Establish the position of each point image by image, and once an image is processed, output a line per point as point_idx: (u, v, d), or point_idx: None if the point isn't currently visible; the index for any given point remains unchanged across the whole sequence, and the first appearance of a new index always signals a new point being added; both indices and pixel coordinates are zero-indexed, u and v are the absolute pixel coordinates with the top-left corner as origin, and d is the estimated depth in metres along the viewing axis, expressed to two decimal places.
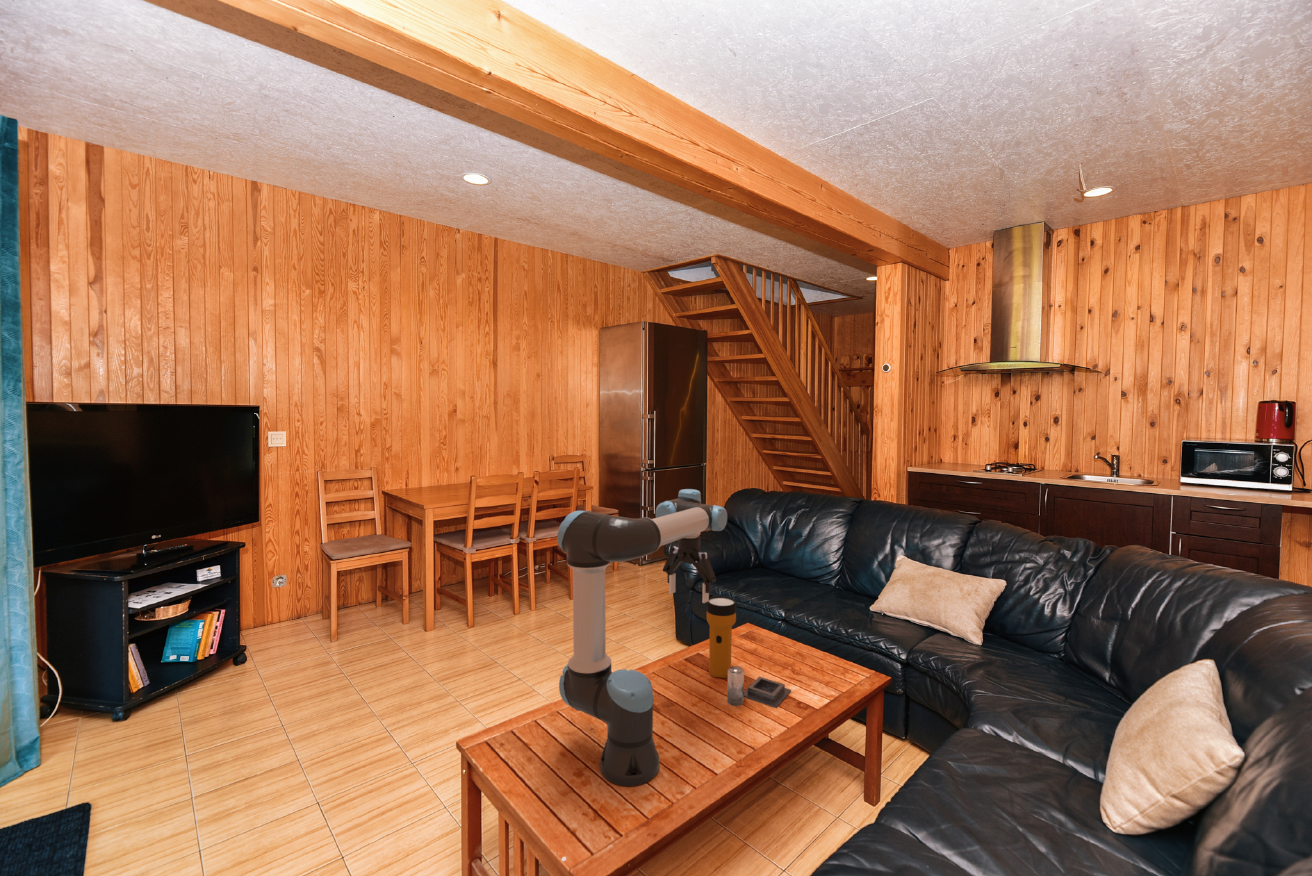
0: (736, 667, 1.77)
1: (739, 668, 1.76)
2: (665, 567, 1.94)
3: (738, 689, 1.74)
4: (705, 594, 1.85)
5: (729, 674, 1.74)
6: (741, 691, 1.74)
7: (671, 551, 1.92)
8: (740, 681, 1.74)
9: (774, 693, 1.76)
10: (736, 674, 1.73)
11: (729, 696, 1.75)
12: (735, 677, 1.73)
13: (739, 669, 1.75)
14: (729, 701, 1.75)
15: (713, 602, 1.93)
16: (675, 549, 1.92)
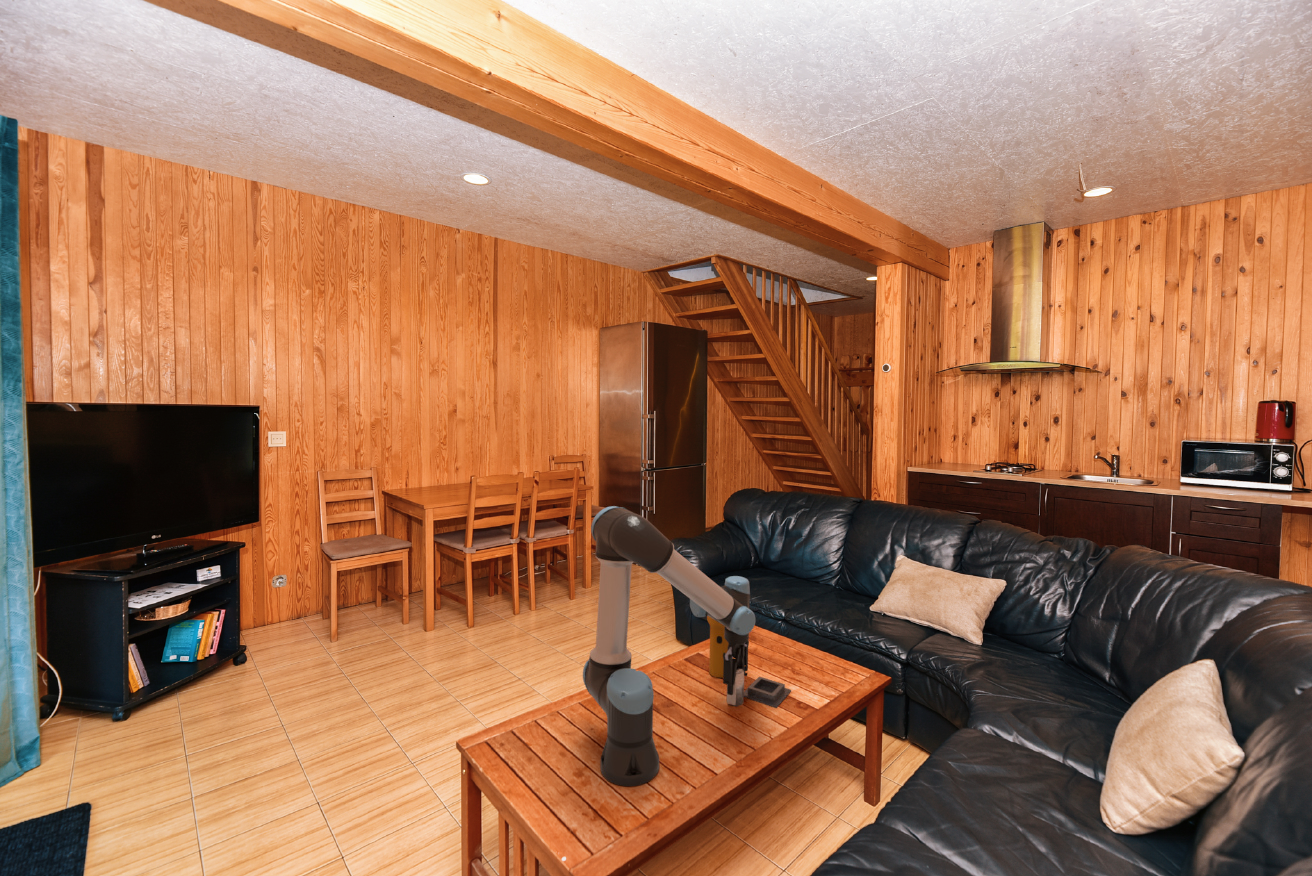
0: None
1: (739, 668, 1.76)
2: None
3: (738, 689, 1.74)
4: (728, 694, 1.74)
5: None
6: (741, 691, 1.74)
7: None
8: (740, 681, 1.74)
9: (774, 693, 1.76)
10: (736, 674, 1.73)
11: None
12: (735, 677, 1.73)
13: (739, 669, 1.75)
14: None
15: None
16: None
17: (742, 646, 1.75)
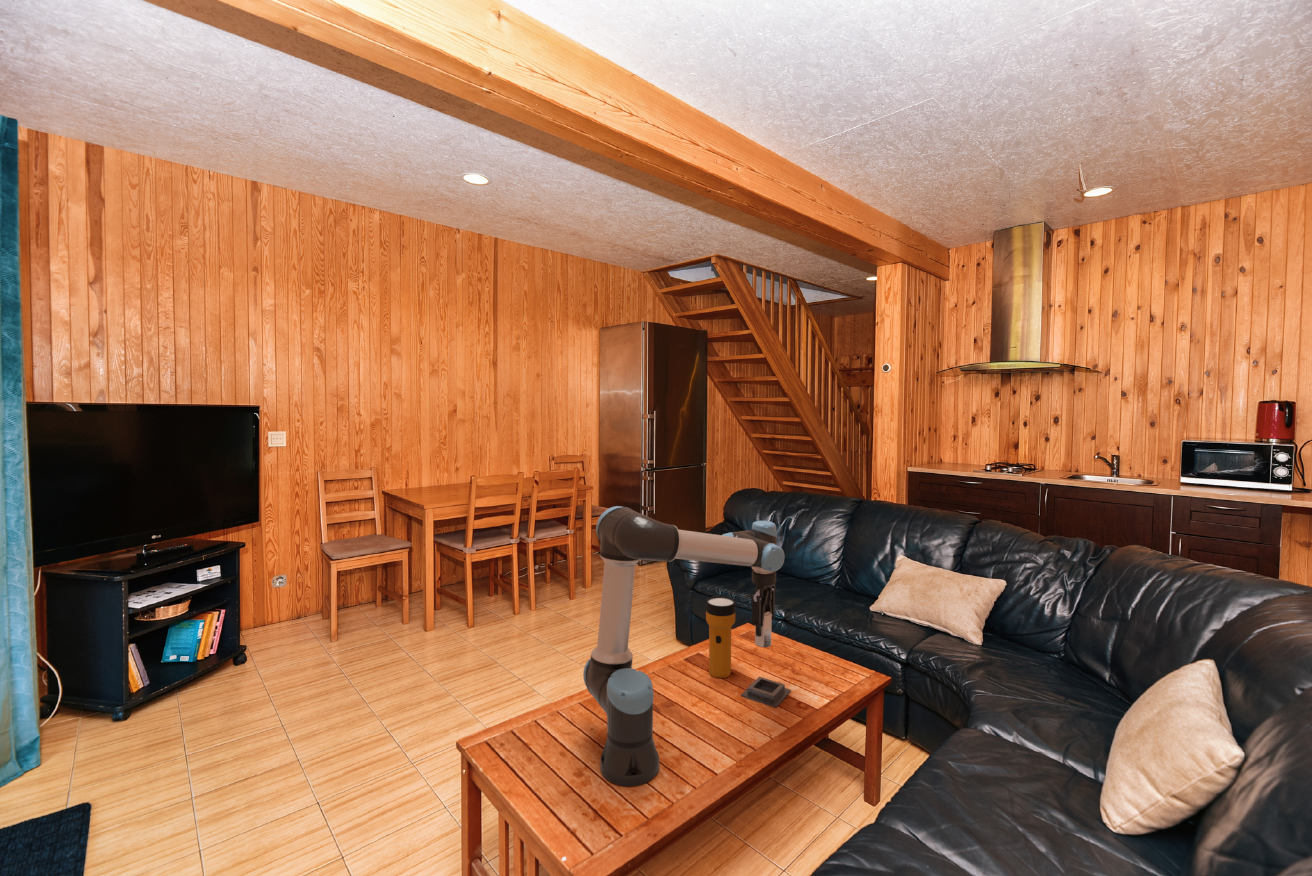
0: None
1: (767, 611, 1.79)
2: None
3: (766, 631, 1.76)
4: (757, 636, 1.77)
5: None
6: (769, 633, 1.77)
7: None
8: (768, 623, 1.77)
9: (774, 693, 1.76)
10: (764, 616, 1.76)
11: None
12: (763, 619, 1.76)
13: (767, 612, 1.78)
14: None
15: (712, 602, 1.92)
16: None
17: (769, 589, 1.78)
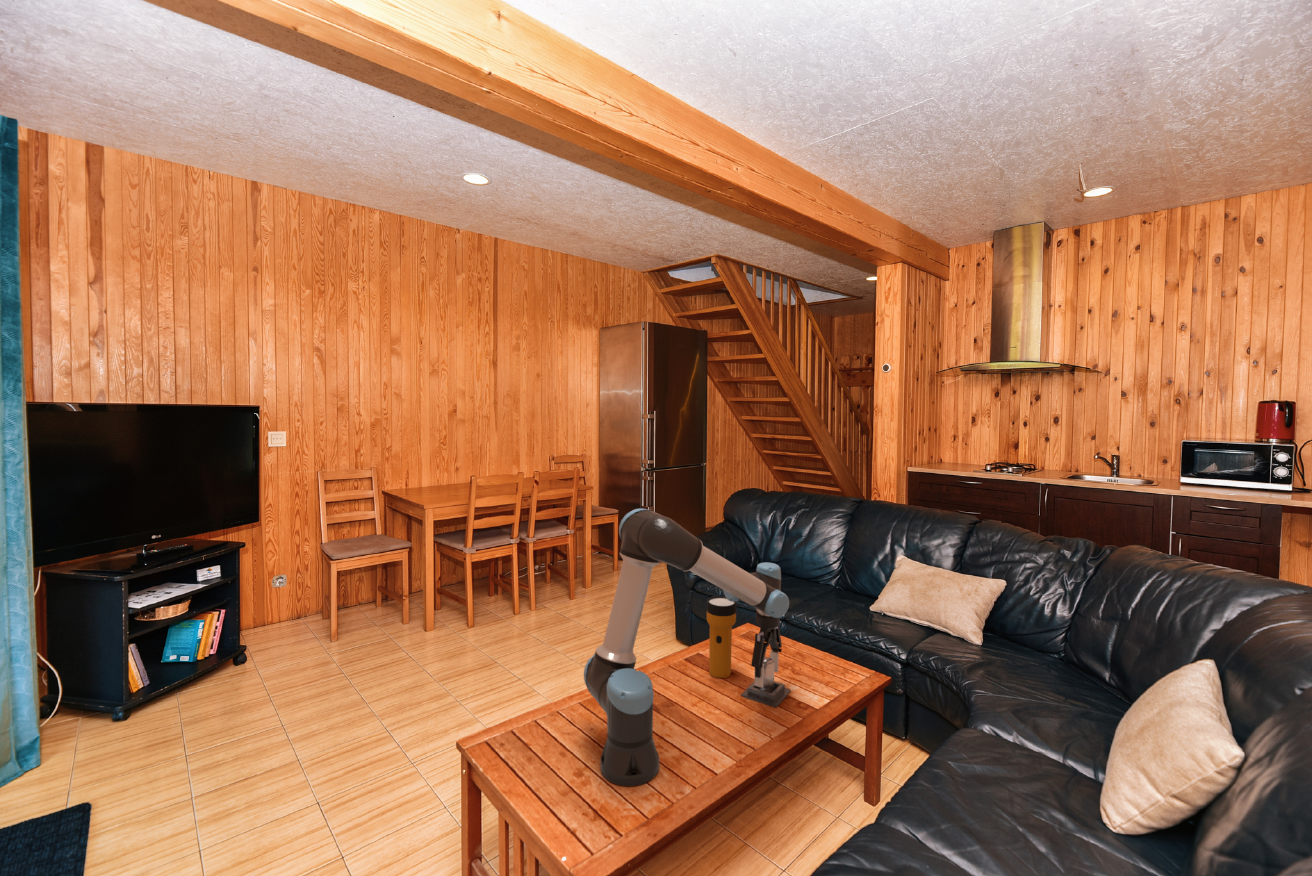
0: (766, 658, 1.81)
1: (769, 659, 1.81)
2: None
3: (769, 680, 1.78)
4: (756, 677, 1.76)
5: None
6: (772, 681, 1.79)
7: None
8: (771, 671, 1.78)
9: (774, 693, 1.76)
10: (767, 664, 1.78)
11: None
12: (765, 668, 1.78)
13: (769, 660, 1.80)
14: None
15: (713, 602, 1.92)
16: None
17: (773, 631, 1.79)
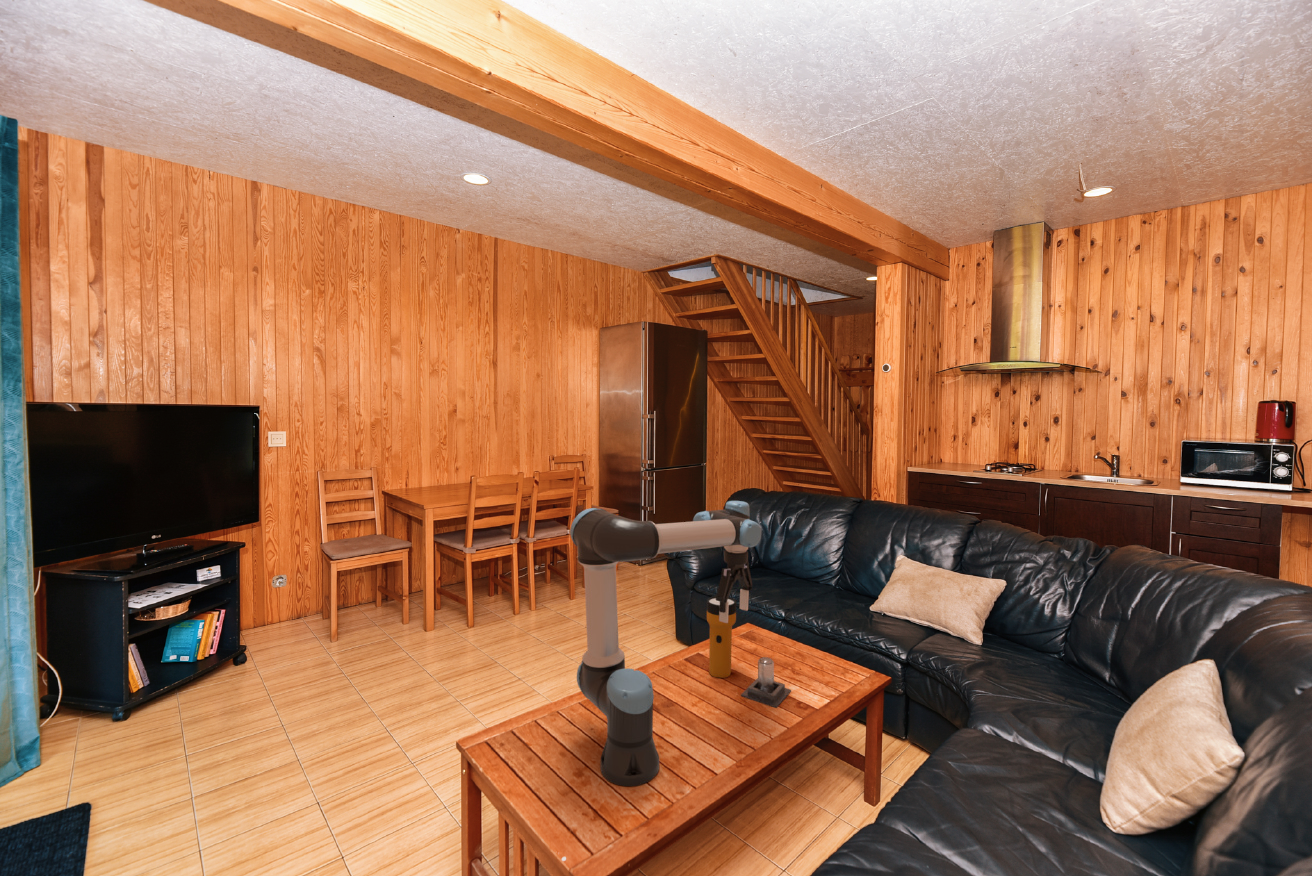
0: (766, 658, 1.81)
1: (769, 659, 1.81)
2: None
3: (769, 680, 1.78)
4: (721, 612, 1.74)
5: (760, 665, 1.79)
6: (772, 681, 1.79)
7: None
8: (771, 671, 1.78)
9: (774, 693, 1.76)
10: (767, 665, 1.78)
11: (760, 687, 1.79)
12: (765, 668, 1.78)
13: (769, 660, 1.80)
14: None
15: (713, 602, 1.93)
16: None
17: (741, 569, 1.79)
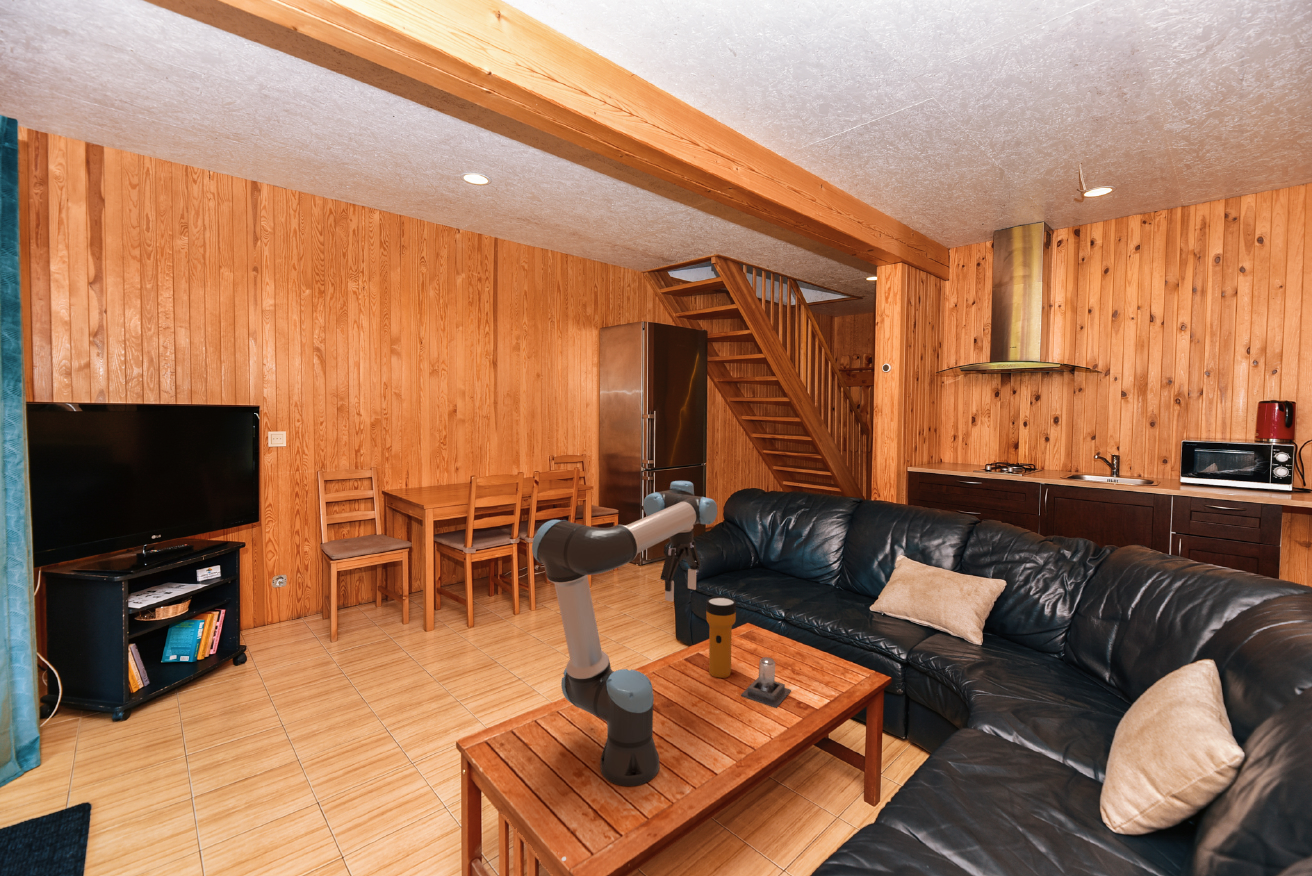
0: (767, 658, 1.81)
1: (770, 659, 1.81)
2: None
3: (770, 680, 1.78)
4: (666, 591, 1.75)
5: (761, 665, 1.79)
6: (772, 682, 1.79)
7: None
8: (772, 672, 1.78)
9: (774, 693, 1.76)
10: (768, 665, 1.78)
11: (760, 686, 1.79)
12: (767, 668, 1.78)
13: (771, 660, 1.80)
14: None
15: (713, 602, 1.93)
16: None
17: (687, 549, 1.80)
